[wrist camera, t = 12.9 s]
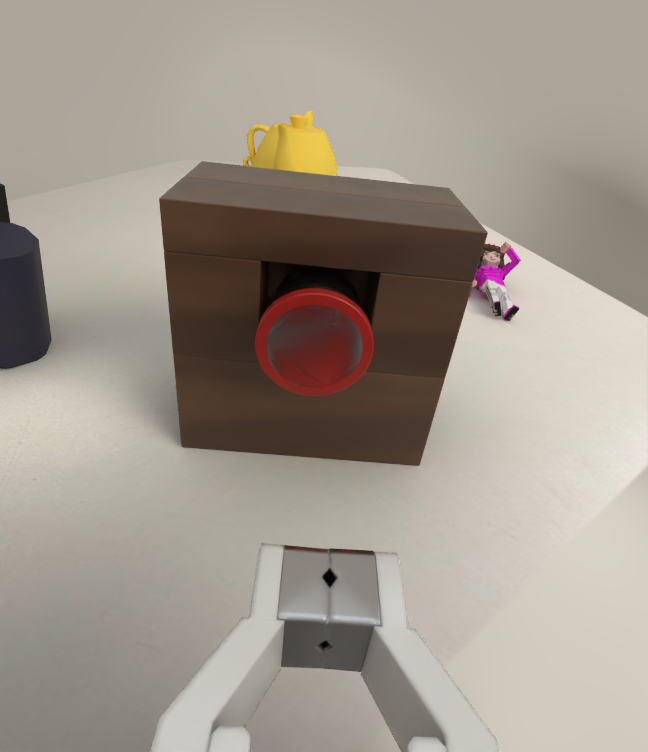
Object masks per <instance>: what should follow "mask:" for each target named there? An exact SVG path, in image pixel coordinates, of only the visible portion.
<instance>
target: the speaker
mask: <svg viewBox="0 0 648 752" xmlns="http://www.w3.org/2000/svg"><path fill="white" fill-rule="evenodd" d="M50 342H51V332H50V325H49V317H48V309H47V302H46V294H45V286H44V279H43V271H42V263H41V256H40V248H39V240H38V239H37V238H36V237H35V236H34V235H33V234H32V233H31V232H29V231H28V230H27V229H26V228H24V227H22V226H19V225H16V224H13V223H10V218H9V212H8V205H7V199H6V193H5V186H4V185H2V184H0V368H11V367H14V366H18V365H22V364H25V363H29V362H32V361H36V360H38V359H39V358H41V357H42V356H44V355H45V354H46V353H47V350H48V347H49V345H50Z"/></svg>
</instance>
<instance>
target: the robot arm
mask: <svg viewBox="0 0 648 752" xmlns="http://www.w3.org/2000/svg"><path fill="white" fill-rule="evenodd" d="M281 667H301V668H324V669H335V670H347V671H358V672H361V676H362V677H363V679H364V681H365V683H366V685H367V687H368V689H369V691H370V693H371V695H372V696H373V698H374V700H375V702H376V704H377V706H378V708H379V710H380V712H381V714H382V716H383V717H384V719H385V721H386V723H387V725H388V727H389V729H390V731H391V733H392V735H393V737H394V738H395V740H396V742H397V744H398V746H399V748H400V750H401V752H499V748H498V743H497V740H496V738H495V737H494V735H493V734H492V732H491V731H490V730H489V728H488V727H487V726H486V724H485V723H484V722H483V720H482V719H481V718H480V716H479V715H478V713H477V712H476V711H475V709H474V708H473V707H472V705H471V704H470V703H469V701H468V700H467V698H466V697H465V696H464V694H463V693H462V692H461V690H460V689H459V687H458V686H457V685H456V683H455V682H454V681H453V679H452V678H451V677H450V675H449V674H448V672H447V671H446V670H445V668H444V667H443V666H442V664H441V663H440V661H439V660H438V659H437V657H436V656H435V655H434V653H433V652H432V651H431V649H430V648H429V646H428V645H427V644H426V642H425V641H424V640H423V638H422V637H421V636H420V634H419V633H418V631H417V630H416V629H412V628H409V627H408V619H407V612H406V604H405V597H404V589H403V582H402V574H401V567H400V559H399V557H398V555H397V553H388V552H373V551H366V550H347V549H321V548H309V547H298V546H286V545H285V548H284V545H276V544H261V546H260V549H259V554H258V561H257V568H256V575H255V581H254V588H253V595H252V601H251V608H250V615H249V618H241V619H240V621H239V622H238V623H237V624H236V626H235V627H234V628H233V629H232V630H231V632H230V633H229V634H228V635H227V636H226V638H225V639H224V640H223V641H222V643H221V644H220V645H219V646H218V647H217V649H216V650H215V651H214V652H213V654H212V655H211V656H210V657H209V658H208V660H207V661H206V662H205V663H204V665H203V666H202V667H201V668H200V669H199V671H198V672H197V673H196V674H195V675H194V677H193V678H192V679H191V680H190V682H189V683H188V684H187V685H186V686H185V688H184V689H183V690H182V691H181V693H180V694H179V695H178V696H177V697H176V699H175V700H174V701H173V702H172V703H171V705H170V706H169V707H168V708H167V710H166V711H165V712H164V713H163V714H162V716H161V717H160V718H159V720H158V724H157V728H156V731H155V735H154V739H153V743H152V746H151V750H150V752H250V735H249V733H248V732H247V731H246V729H245V726H246V725H247V723H248V721H249V720H250V718H251V717H252V715H253V713H254V712H255V710H256V709H257V707H258V705H259V704H260V702H261V701H262V699H263V697H264V696H265V694H266V693H267V691H268V689H269V688H270V686H271V685H272V683H273V681H274V680H275V678H276V677H277V675H278V673H279V672H280V670H281Z"/></svg>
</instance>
